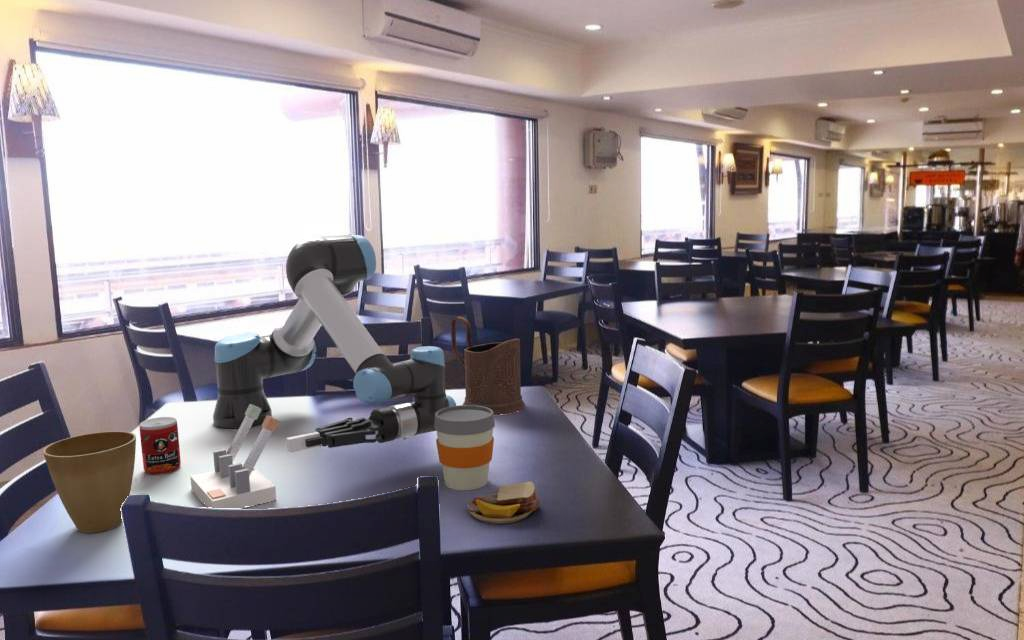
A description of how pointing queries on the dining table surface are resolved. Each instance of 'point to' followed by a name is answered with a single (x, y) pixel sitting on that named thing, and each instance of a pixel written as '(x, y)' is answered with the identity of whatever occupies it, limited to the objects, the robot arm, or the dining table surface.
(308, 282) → the robot arm
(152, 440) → the canned food
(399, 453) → the dining table surface
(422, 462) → the dining table surface
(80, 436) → the plant pot
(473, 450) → the reusable coffee cup
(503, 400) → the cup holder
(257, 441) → the lever
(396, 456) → the dining table surface
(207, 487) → the console
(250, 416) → the lever
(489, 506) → the toy sandwich meal
